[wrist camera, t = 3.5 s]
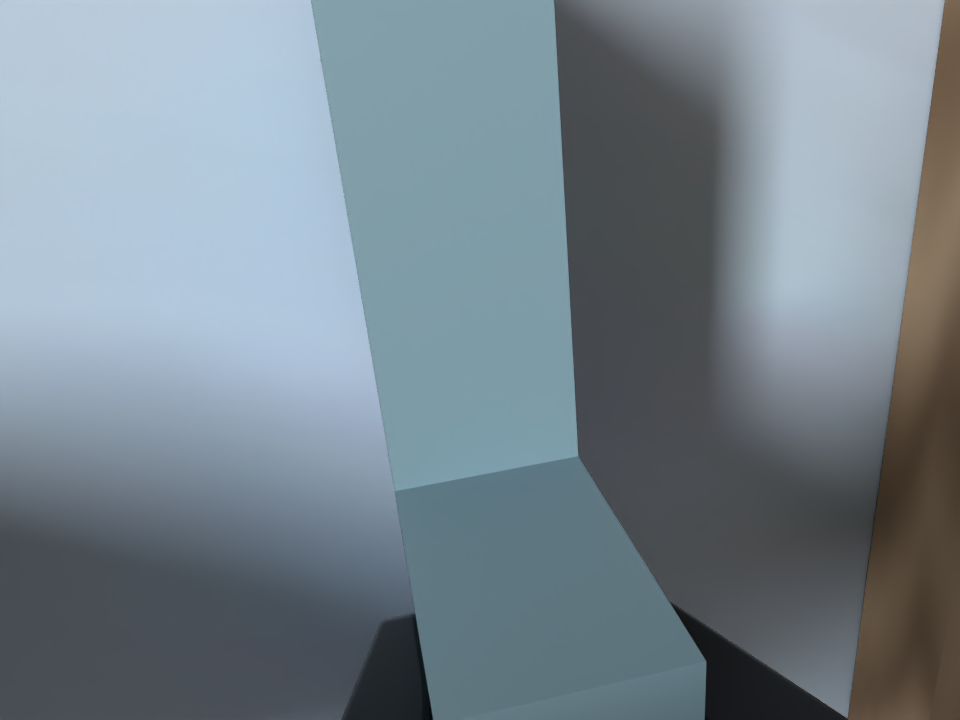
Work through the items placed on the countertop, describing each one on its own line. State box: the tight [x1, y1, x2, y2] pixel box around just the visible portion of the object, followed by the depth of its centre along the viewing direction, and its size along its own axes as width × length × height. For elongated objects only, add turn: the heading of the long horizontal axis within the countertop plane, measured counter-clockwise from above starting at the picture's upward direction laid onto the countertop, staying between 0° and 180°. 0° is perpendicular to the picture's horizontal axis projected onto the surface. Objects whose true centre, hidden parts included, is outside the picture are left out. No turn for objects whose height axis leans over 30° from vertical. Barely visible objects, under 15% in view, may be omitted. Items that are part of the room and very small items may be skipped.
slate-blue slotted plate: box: [311, 0, 706, 720], centre depth 10 cm, size 16×2×8 cm, turn 6°
